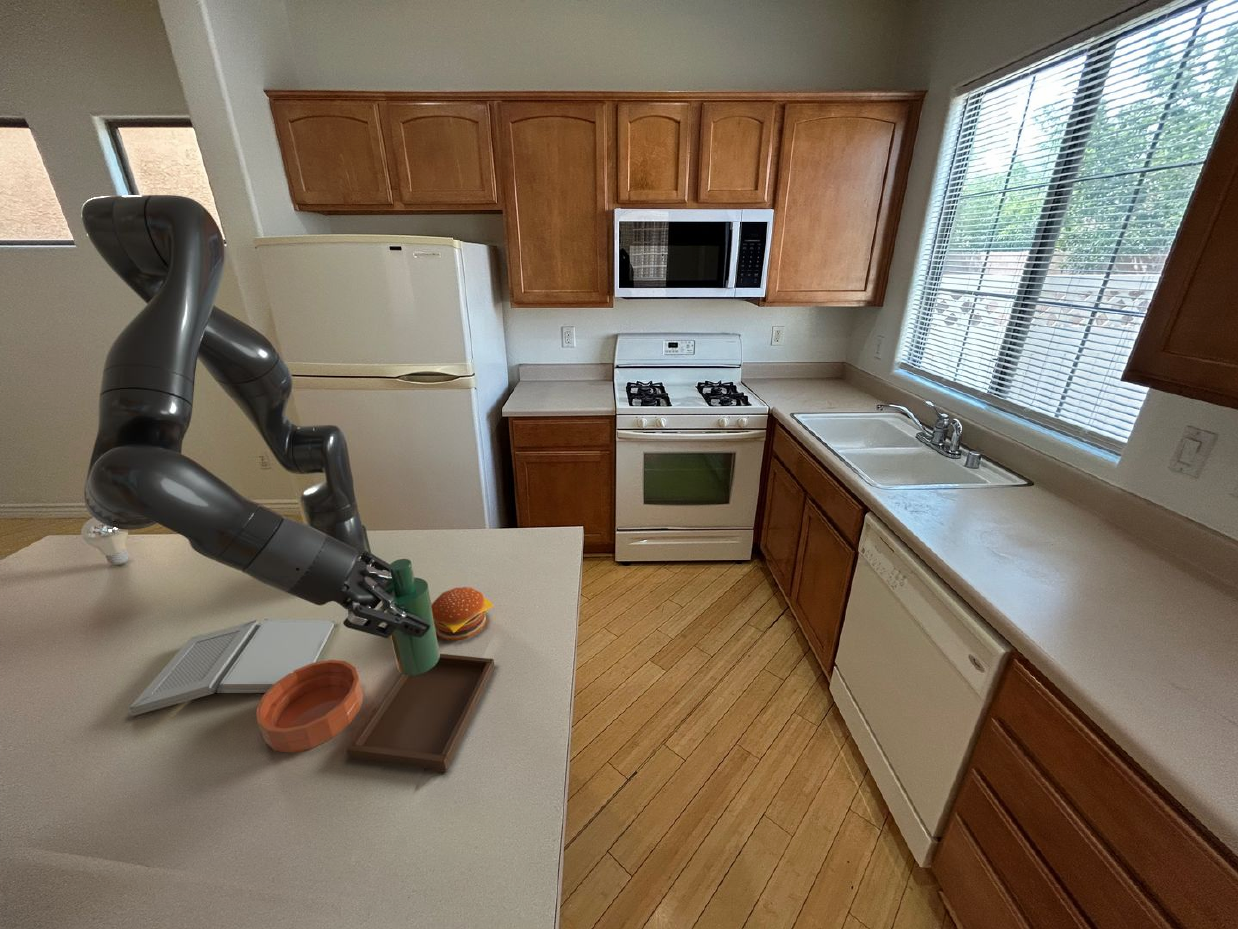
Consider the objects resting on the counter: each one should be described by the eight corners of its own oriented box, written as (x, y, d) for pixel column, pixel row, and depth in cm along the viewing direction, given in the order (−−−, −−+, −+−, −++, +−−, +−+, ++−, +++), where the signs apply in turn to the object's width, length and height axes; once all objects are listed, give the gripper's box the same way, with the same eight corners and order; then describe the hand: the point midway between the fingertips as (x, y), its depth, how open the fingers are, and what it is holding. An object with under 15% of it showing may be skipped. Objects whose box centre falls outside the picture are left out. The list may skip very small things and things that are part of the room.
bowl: (308, 678, 76) (301, 656, 74) (380, 685, 75) (375, 664, 73) (242, 749, 65) (232, 726, 63) (326, 760, 63) (318, 737, 62)
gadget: (336, 626, 87) (332, 610, 86) (304, 692, 73) (298, 674, 72) (193, 644, 83) (186, 627, 81) (131, 718, 69) (121, 699, 68)
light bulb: (147, 561, 106) (126, 514, 101) (104, 577, 100) (79, 527, 96) (136, 552, 109) (115, 505, 105) (94, 567, 104) (70, 518, 99)
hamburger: (464, 602, 93) (460, 574, 91) (497, 621, 88) (494, 592, 86) (422, 629, 86) (416, 600, 84) (456, 652, 81) (451, 621, 79)
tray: (416, 660, 79) (414, 651, 79) (494, 668, 78) (493, 658, 77) (349, 760, 63) (346, 749, 62) (446, 772, 62) (444, 761, 61)
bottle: (410, 644, 70) (391, 551, 64) (446, 647, 69) (431, 554, 63) (389, 673, 65) (366, 575, 59) (427, 677, 64) (409, 579, 58)
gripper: (313, 569, 50) (447, 629, 59) (330, 510, 62) (439, 567, 71) (267, 623, 50) (408, 674, 59) (293, 553, 62) (406, 604, 71)
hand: (424, 615), depth 65 cm, fingers closed on bottle, 5 cm apart
